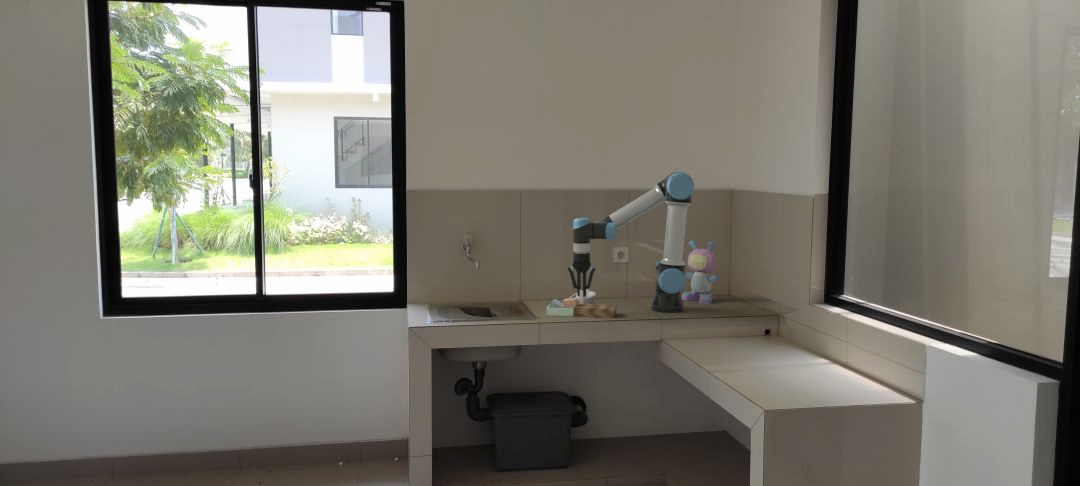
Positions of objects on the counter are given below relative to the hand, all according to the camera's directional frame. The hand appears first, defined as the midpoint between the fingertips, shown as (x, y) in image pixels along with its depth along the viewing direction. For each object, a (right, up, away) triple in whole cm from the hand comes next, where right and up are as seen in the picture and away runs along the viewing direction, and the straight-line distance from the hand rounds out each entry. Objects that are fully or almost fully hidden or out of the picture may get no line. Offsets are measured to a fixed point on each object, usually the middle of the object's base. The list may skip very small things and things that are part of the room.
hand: (581, 303), depth 358 cm
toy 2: (+61, -1, +34) cm, 70 cm away
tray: (-9, -5, +3) cm, 10 cm away
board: (+6, -5, -1) cm, 8 cm away
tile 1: (-10, 0, +2) cm, 11 cm away
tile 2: (-5, -1, +1) cm, 5 cm away
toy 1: (+2, -3, +19) cm, 19 cm away
